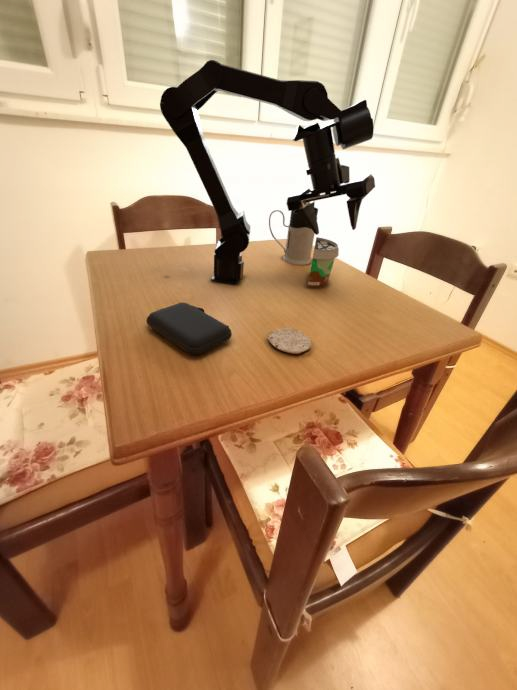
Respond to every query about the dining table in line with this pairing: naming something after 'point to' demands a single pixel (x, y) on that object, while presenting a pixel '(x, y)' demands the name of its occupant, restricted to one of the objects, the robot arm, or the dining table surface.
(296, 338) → the flatbread
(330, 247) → the food container
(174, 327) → the carrying case
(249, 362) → the dining table surface
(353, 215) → the robot arm
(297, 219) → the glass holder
